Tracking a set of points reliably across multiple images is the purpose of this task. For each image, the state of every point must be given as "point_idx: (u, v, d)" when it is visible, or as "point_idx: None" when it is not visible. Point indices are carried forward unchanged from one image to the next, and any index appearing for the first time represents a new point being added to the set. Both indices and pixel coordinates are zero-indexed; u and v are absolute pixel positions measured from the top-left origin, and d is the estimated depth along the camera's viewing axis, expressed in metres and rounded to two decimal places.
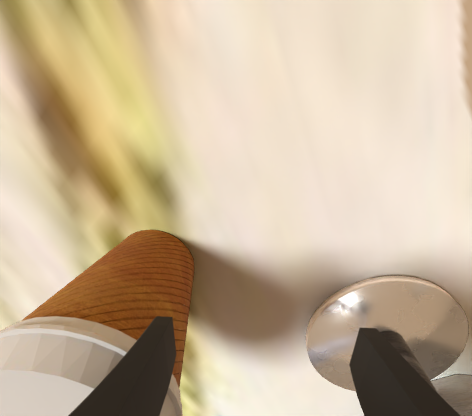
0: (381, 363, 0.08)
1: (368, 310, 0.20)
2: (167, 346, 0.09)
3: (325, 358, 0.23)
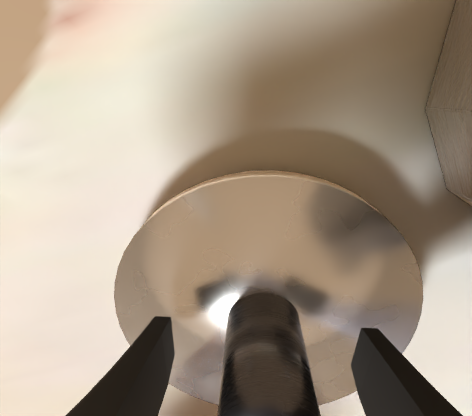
0: (382, 363, 0.08)
1: (183, 350, 0.12)
2: (165, 346, 0.09)
3: None
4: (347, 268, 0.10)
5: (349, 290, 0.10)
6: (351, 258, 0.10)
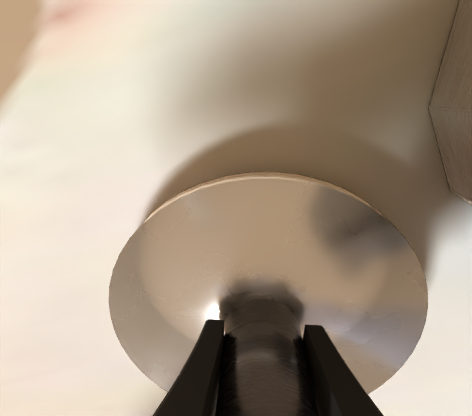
0: (316, 359, 0.08)
1: (180, 356, 0.12)
2: (221, 349, 0.09)
3: None
4: (350, 274, 0.09)
5: (351, 297, 0.10)
6: (354, 264, 0.09)
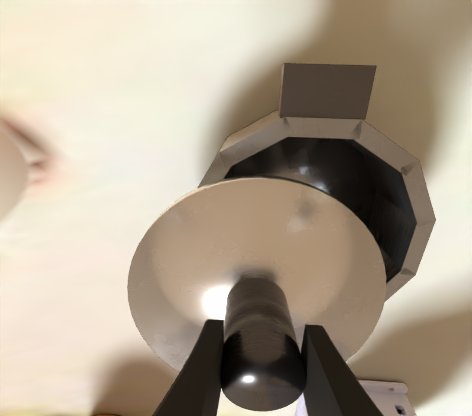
0: (316, 359, 0.08)
1: (182, 327, 0.13)
2: (221, 349, 0.09)
3: None
4: (330, 262, 0.12)
5: (329, 281, 0.12)
6: (334, 253, 0.12)
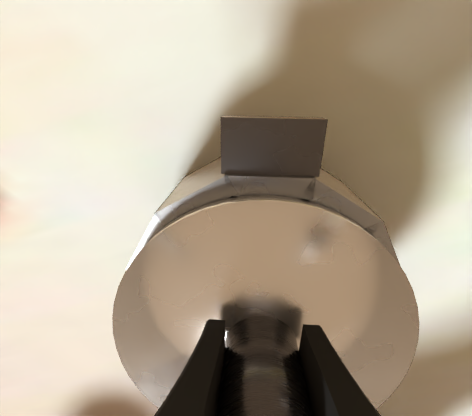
0: (313, 359, 0.08)
1: (173, 366, 0.12)
2: (223, 349, 0.09)
3: None
4: (351, 301, 0.10)
5: (349, 323, 0.10)
6: (356, 292, 0.10)
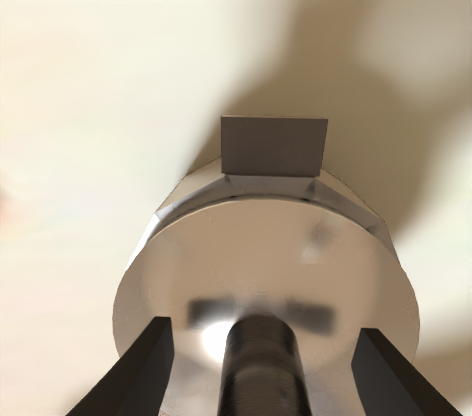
0: (383, 363, 0.08)
1: (173, 366, 0.12)
2: (165, 346, 0.09)
3: None
4: (351, 301, 0.10)
5: (350, 323, 0.10)
6: (357, 292, 0.10)
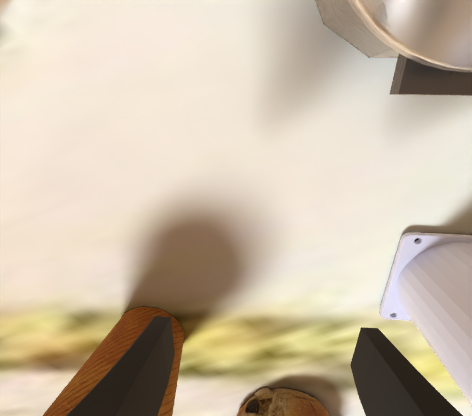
0: (383, 363, 0.08)
1: None
2: (165, 346, 0.09)
3: None
4: None
5: None
6: None
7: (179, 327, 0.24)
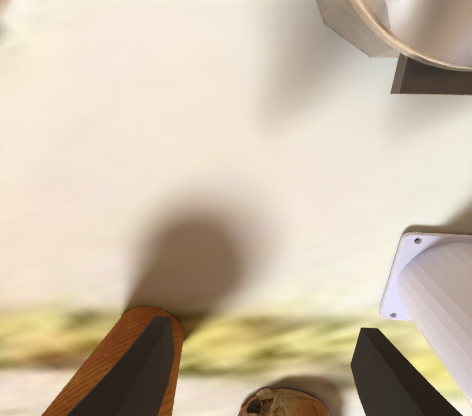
0: (382, 363, 0.08)
1: None
2: (165, 346, 0.09)
3: None
4: None
5: None
6: None
7: (179, 327, 0.24)
